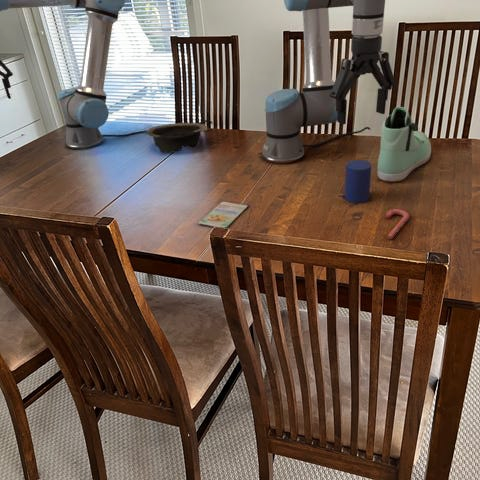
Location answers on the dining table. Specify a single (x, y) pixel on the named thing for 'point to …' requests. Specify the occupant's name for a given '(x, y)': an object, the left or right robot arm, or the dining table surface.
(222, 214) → the baking ingredient package
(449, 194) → the dining table surface
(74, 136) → the left robot arm
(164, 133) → the stone bowl
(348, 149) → the dining table surface
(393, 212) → the candy cane
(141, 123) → the dining table surface
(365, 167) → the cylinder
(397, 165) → the sneaker
